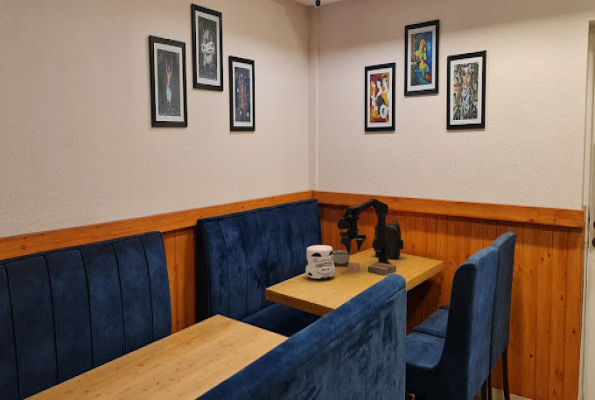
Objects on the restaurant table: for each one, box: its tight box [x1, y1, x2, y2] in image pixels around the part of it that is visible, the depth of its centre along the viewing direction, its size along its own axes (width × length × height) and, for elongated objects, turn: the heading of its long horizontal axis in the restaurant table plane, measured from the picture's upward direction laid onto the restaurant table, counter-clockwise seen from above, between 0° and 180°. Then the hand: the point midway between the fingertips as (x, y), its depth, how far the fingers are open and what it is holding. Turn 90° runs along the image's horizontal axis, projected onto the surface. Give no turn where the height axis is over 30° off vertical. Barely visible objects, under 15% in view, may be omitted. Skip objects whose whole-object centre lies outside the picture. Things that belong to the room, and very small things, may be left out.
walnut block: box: [367, 262, 397, 276], centre depth 285 cm, size 12×12×4 cm
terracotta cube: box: [347, 261, 360, 274], centre depth 288 cm, size 5×5×5 cm
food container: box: [333, 249, 352, 268], centre depth 301 cm, size 12×6×10 cm, turn 84°
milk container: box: [305, 244, 336, 281], centre depth 276 cm, size 17×17×18 cm
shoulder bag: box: [370, 216, 407, 262], centre depth 317 cm, size 23×9×28 cm, turn 52°
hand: (353, 252), depth 287 cm, fingers open, 9 cm apart
